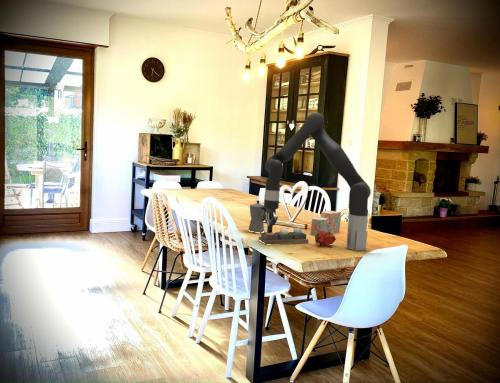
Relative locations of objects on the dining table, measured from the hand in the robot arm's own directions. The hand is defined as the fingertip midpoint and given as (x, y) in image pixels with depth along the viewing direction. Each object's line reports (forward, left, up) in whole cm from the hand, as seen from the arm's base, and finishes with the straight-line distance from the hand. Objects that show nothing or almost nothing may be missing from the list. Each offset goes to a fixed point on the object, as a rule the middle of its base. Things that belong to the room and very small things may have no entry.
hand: (269, 232), depth 236 cm
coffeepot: (+25, -4, -5) cm, 26 cm away
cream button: (0, -8, -1) cm, 8 cm away
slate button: (0, -16, -1) cm, 16 cm away
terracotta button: (0, 0, -3) cm, 3 cm away
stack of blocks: (+19, -44, -5) cm, 48 cm away
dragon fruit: (-11, -27, -5) cm, 29 cm away
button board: (0, -8, -5) cm, 9 cm away
